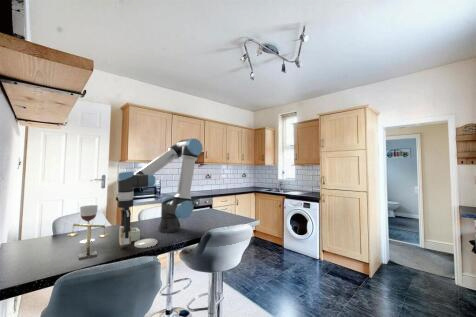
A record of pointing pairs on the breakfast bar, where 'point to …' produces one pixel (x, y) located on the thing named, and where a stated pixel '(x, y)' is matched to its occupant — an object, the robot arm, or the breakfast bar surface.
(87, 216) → the wineglass
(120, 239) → the block
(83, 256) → the balance
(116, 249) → the breakfast bar surface
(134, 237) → the pale green open box
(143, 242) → the dish
